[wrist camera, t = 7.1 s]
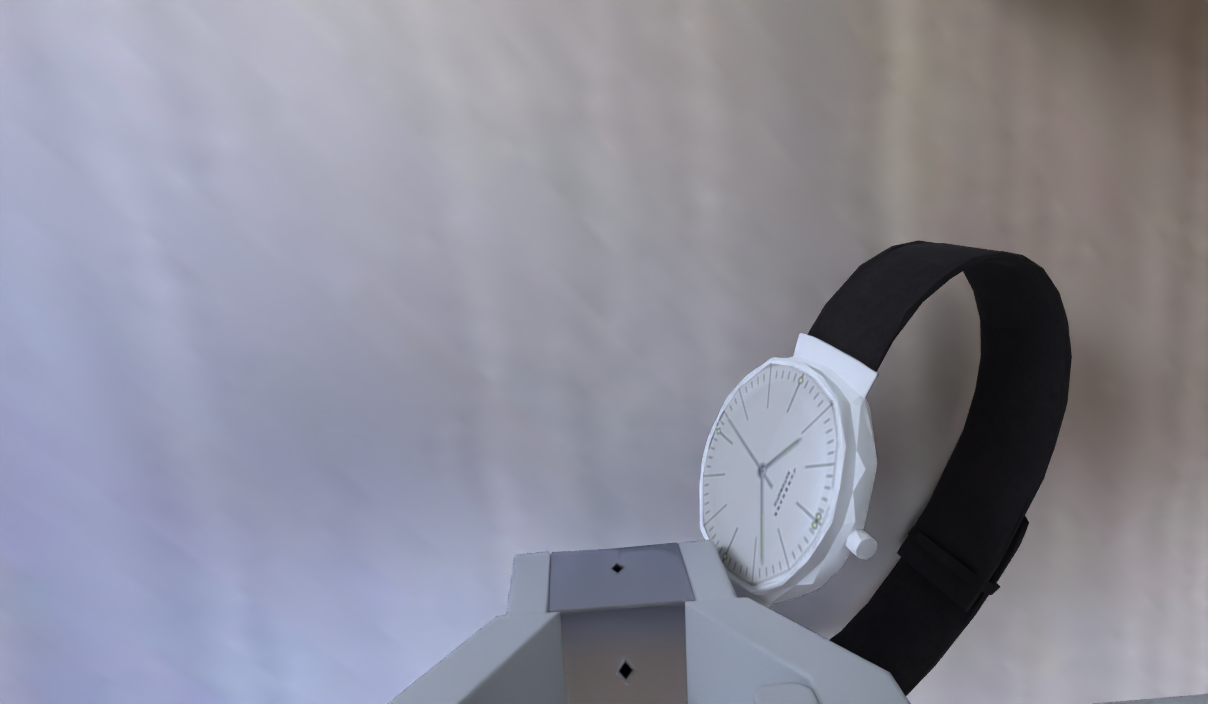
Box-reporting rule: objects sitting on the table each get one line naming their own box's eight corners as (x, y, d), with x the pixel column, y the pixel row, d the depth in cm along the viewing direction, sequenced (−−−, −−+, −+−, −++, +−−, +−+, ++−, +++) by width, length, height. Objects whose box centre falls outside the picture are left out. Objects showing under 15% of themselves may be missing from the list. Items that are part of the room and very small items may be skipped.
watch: (801, 188, 11) (912, 193, 8) (1070, 290, 12) (1289, 340, 8) (625, 622, 13) (649, 794, 9) (870, 693, 13) (983, 881, 10)
